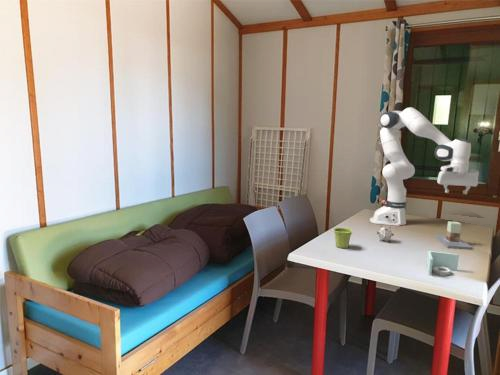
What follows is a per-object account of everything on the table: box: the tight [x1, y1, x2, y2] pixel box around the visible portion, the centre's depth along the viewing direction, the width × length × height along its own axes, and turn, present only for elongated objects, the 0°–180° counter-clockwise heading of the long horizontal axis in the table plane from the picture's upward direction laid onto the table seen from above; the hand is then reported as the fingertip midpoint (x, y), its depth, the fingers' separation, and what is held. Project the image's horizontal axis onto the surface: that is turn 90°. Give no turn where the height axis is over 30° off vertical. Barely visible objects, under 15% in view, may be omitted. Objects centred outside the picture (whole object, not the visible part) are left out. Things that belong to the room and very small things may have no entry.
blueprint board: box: [434, 234, 473, 251], centre depth 206 cm, size 12×20×1 cm, turn 172°
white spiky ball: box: [376, 225, 395, 243], centre depth 206 cm, size 9×8×10 cm
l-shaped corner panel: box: [426, 250, 460, 277], centre depth 162 cm, size 12×12×8 cm
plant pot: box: [333, 227, 353, 249], centre depth 195 cm, size 9×9×9 cm
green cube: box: [446, 221, 462, 234], centre depth 204 cm, size 5×5×5 cm
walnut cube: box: [445, 230, 461, 242], centre depth 205 cm, size 5×5×5 cm
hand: (455, 193), depth 212 cm, fingers open, 8 cm apart
